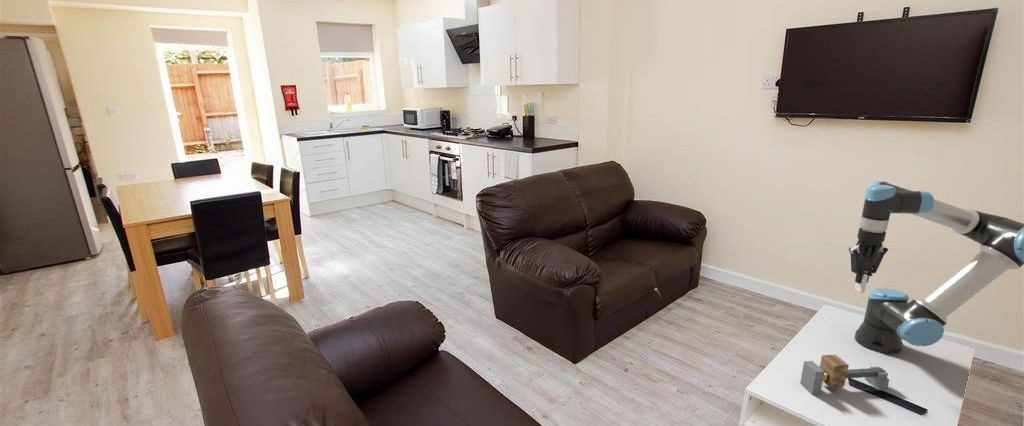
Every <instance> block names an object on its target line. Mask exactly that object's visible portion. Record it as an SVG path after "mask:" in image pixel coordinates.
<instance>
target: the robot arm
mask: <svg viewBox="0 0 1024 426" xmlns="http://www.w3.org/2000/svg"><path fill="white" fill-rule="evenodd" d="M891 214H908V215H909V214H911V215H913V216H916V217H920V218H923V219H925V220H927V221H931V222H933V223H936V224H939V225H942V226H945V227H946V228H951V230H952V231H953V232H954V233H955V234H958V235H961V236H964V237H966V238H968V239H970V240H972V241H974V243H975V242H976V243H978V244H979V249H980V251H979V253H977V254H976V255H975V256H974V257H973V258H971V259H970V260H968V261H967V262H966V263H965V264H964V265H962V266H961V267H960V268H959V269H957V270H956V271H955V272H954V273H953V274H951V275H950V276H948V278H946V279H945V280H944V281H942V282H941V283H939V285H937V286H936V287H935V288H934V289H933V290H931V291H930V292H928V293H927V294H926V295H925V296H924V297H922V298H913V299H912V300H910V299H909V297H910V296H909V295H908V294H907V293H905V292H904V291H901V290H896V289H890V288H881V287H880V288H874V289H872V290H871V291H870V293H869V294H868V297H867V298H868V300H867V305H866V310H865V313H864V317H863V318H864V319H863V322H862V323H861V324H860V326H859V327H858V329H857V330H855V333H854V340H855V341H856V342H857V343H858V344H859V345H861V346H862V347H864V348H866V349H868V350H870V351H874V352H876V353H877V352H878V353H881V354H882V353H883V354H888V355H889V354H890V355H891V354H892V355H893V354H894V355H896V354H899V353H901V352H902V350H903V347H904V344H903V341H905V342H907V343H908V344H910V345H912V346H917V347H928V346H931V345H934V344H937V342H939V341H940V340H942V338H943V336H944V335H943V334H944V333H945V328H944V326H946V325H948V321H947V320H948V316H950V315H951V314H953V313H954V312H955V311H956V310H958V309H959V308H960V307H961V306H963V305H964V304H966V303H967V302H968V301H969V300H970V299H972V298H973V297H975V295H977V294H979V293H980V292H981V291H982V290H984V289H985V288H986V287H987V286H989V285H990V284H991V283H992V282H994V281H995V280H997V279H998V278H999V277H1000V276H1001V275H1003V274H1004V273H1006V271H1008V270H1019V269H1021V267H1022V266H1024V223H1023V222H1020V221H1016V220H1013V219H1011V218H1008V217H1004V216H1001V215H995V214H991V213H986V212H981V211H978V210H975V209H972V208H966V209H964V208H960V207H957V206H954V205H952V204H949V203H946V202H943V201H940V200H937V199H935V198H934V196H933V194H932V193H930V191H929V192H928V191H923V190H910V189H908V188H905V187H901V186H898V185H894V184H893V183H888V182H887V181H882V180H874V181H872V182H870V183H869V184H868V185H867V187H866V189H865V196H864V203H863V209H862V214H861V218H860V223H859V227H858V232H857V240H858V241H857V242H856V244H855V246H853V247H849V248H848V252H849V254H850V269H851V271H850V272H852V273H854V274H855V279H854V282H855V287H854V290H855V291H857V292H858V293H865V291H866V287H867V284H868V283H869V281H870V280H869V279H870V277H872V276H873V274H877V271H878V269H879V267H880V266H881V262H883V261H882V260H883V258H884V256H885V255H886V254H887V252H888V251H889V248H887V247H885V246H883V243H884V242H885V239H886V234H887V232H886V231H888V226H889V221H890V216H891ZM909 300H910V301H909Z"/></svg>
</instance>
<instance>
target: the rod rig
mask: <svg viewBox="0 0 1024 426" xmlns="http://www.w3.org/2000/svg"><path fill="white" fill-rule="evenodd" d="M801 371H802V372H801V376H800V377H801V378H800V381H799V382H800V383H799V384H800V385H801V386H802V387H803V388H805V390H806V391H808V392H809V394H811V395H819V394H820V395H821V392H822V387H823V383H824V382H823V381H825V380H829V376H830V375H829V374H828V373H827V372H826V371H824V370H823V369H821V368H820V365H818V364H817V363H816V362H815V361H814V360H806V361H805V360H804V361H803V366H802V370H801ZM888 375H889V373H888V372H887V371H886V370H885V369H884V368H882V367H880V366H870V367H869V368H856V369H853V368H852V369H848V371H847V376H846V380H847V379H858V378H864V380H865V381H867V382H868V383H869V384H870V385H871V386H872V387H874V388H875V387H876V388H875V389H877V388H878V389H880V390H879V391H886V390H888V386H889V383H890V379H889V378H888ZM878 389H877V390H878Z"/></svg>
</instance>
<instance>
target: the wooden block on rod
mask: <svg viewBox="0 0 1024 426" xmlns="http://www.w3.org/2000/svg"><path fill="white" fill-rule="evenodd" d="M849 366H850V364H849V363H847V362H846V361H845V360H844V359H842V358H841V357H839V356H838V355H837V354H822V355H821V359H820V364H819V367H820V368H821V369H823V370H824V371H826V372H827V373H828V374H829V375H830V376H829V380H825V381H823V383H824V384H825V385H827V386H828V387H829V388H831V389H833V388H845V386H846V385H845V384H846V380H847V379H846V376H847V371H848V370H849Z"/></svg>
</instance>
